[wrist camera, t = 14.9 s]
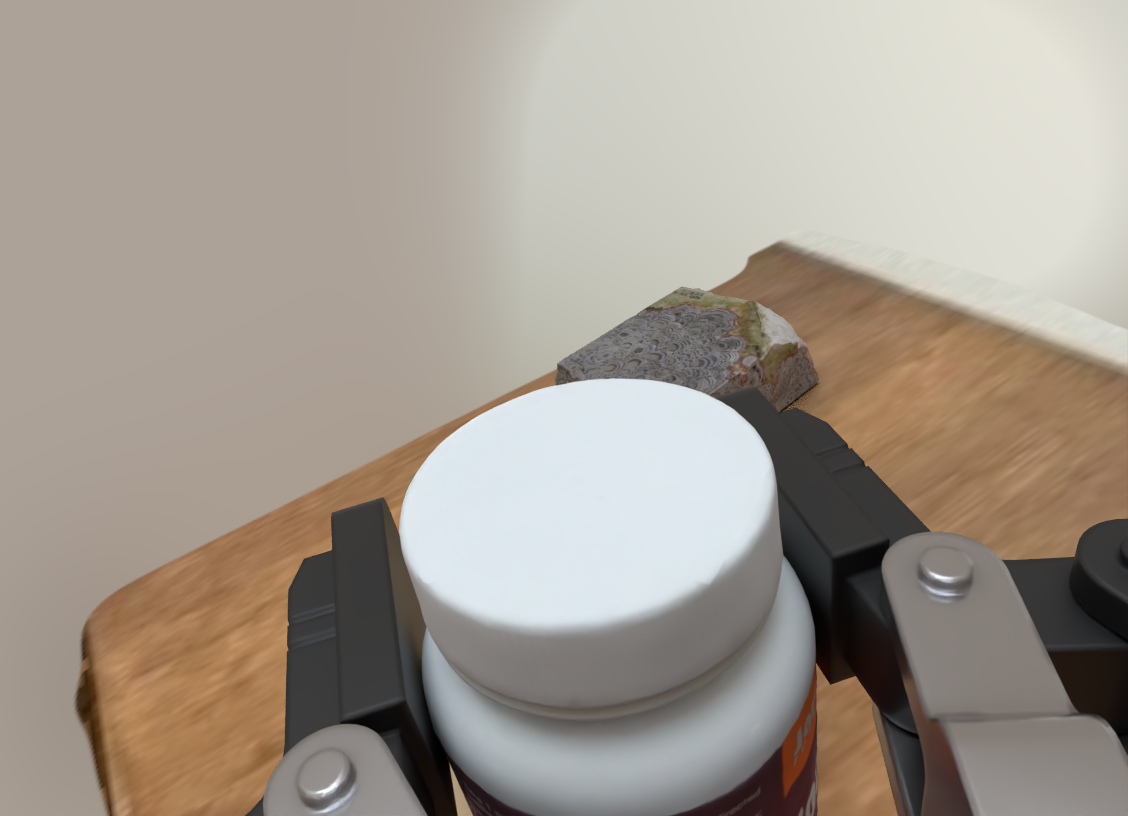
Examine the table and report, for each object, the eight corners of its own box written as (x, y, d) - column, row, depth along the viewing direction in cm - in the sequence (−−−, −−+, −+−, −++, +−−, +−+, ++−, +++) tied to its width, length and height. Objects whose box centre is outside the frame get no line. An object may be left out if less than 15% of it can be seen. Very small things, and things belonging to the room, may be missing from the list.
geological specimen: (540, 371, 54) (695, 266, 60) (561, 443, 58) (706, 336, 64) (658, 428, 47) (821, 301, 53) (675, 507, 50) (826, 379, 56)
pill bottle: (873, 1001, 12) (911, 587, 7) (539, 1088, 11) (346, 724, 7) (757, 713, 16) (730, 323, 11) (507, 774, 15) (368, 406, 11)
